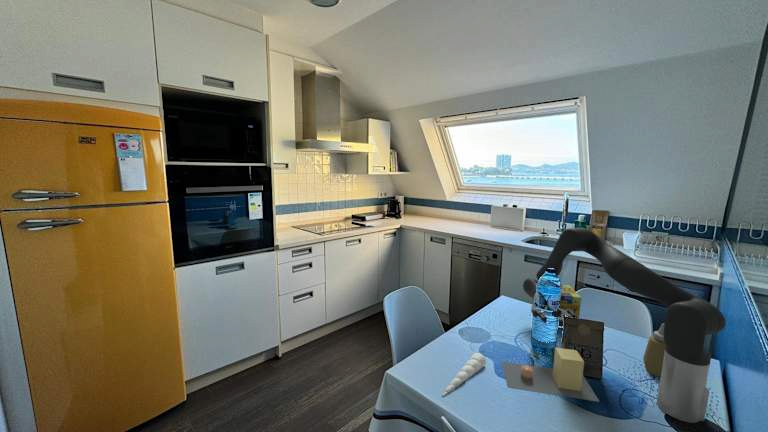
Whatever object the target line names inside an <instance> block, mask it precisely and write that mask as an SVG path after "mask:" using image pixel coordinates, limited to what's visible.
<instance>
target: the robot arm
mask: <svg viewBox="0 0 768 432" xmlns="http://www.w3.org/2000/svg"><path fill="white" fill-rule="evenodd" d="M552 248H553V249H552V251H551V253H550V254H549V256H548V257H547V260H546V261H545V262H544V264H543V265H542V266H541V267H540V268H539V270H538V271H537V272H536V274H535V275H536V279H535V278H532V277H528V278H527V279H525V280H524V281H523V282H522V283H523V285H522V287H523V291H524V292H525V294H527V295H528V296H529V297H530V298H531V299H533V301H534V304H533V303H532V304H531V307H530V308H531V309H530V311H531V314H532V317H534V318H537V317H538V319H540V320H541V322H543V323H545V324H547V321H548V320H547V317H546V316H545V314H544V311H542V310H541V311H539V310H537V309H535V306H536V304H535V293H536V284H537V282H538V281H539V278H540V277H541V276H542V275H543V274H544V273H545V271H546V269H547V268H554V269H555V274H556V276H557V277H559V275H560V274H561V272H562V270H563V264H564V260H565V259H566V257H567V256H569V255H570V254H571V253H573V252H584V253H587V254H588V255H590V256H592V257H593V258H595V259H596V260H598V261H599V263H600V264H601V266H602V267H603V270H604V271H605V273H606V274H607V275H608V277H610V278H612V279H613V280H614V281H615V282H617V283H618V284H619V285H621V286H622V287H624V288H625V289H627V290H629V291H631V292H634V293H636V294H638V295H641V296H644V297H646V298H648V299H651V300H654V301H656V302H658V303H661V305H663V306H665V307H667V310H666V312H665V315H664V316H665V317H664V323H663V324H664V335H663V337H664V342H665V345H666V347H665V353H664V360H663V366H662V372H661V377H660V379H659V380H660V381H659V387H658V393H657V399H656V404H657V405H656V406H657V407H658V408H659V409H660V410H662V412H664V413H665V414H667V415H669V416H670V417H672V418H675V419H676V420H678V421H682V422H686V423H692V424H694V423H695V424H696V423H699V422H705V418H706V413H707V407H708V401H709V395H710V389H709V388H707V383H708V376H709V369H710V366H711V360H712V354H711V352H710V351H709V350H708V349H707V348H705V339H706V336H709V335H713V334H717V333H719V332H721V331H723V330H724V329H725V327H726V324H727V321H726V318H725V315H724V314H723V313H722V311H721V310H720V309H719V308H718V307H716V306H715V305H713V304H712V303H710V302H709V301H708V300H705V299H703V298H701V297H699V296H697V295H695V294H694V293H691V292H690V291H687V290H685V289H684V288H681V287H679V286H678V285H677V284H674V283H672V282H671V281H670V280H668V279H666V278H665V277H663V276H662V275H660V274H658V273H656V272H655V271H653V270H651V269H650V268H649V267H647V266H646V265H644V264H642V263H641V262H639V261H638V260H636V259H635V258H633V257H631V256H630V255H627V254H625V253H624V252H622V251H621V250H619V249H618V248H616V247H615V246H612V245H611V244H610V243H608V242H607V241H605V240H604V239H603V238H601V237H600V236H599V235H597V234H596V233H595V232H594V231H592V230H591V229H588V228H585V227H568V228H565V229H564V230H563V231H562V232H561V234H560V236H558V239H557V241H556V243H555V245H554V247H552ZM552 315H553V316H554V317H557V318H559V319H561V320H564V317H565V315H566V316H568V317H573V318H575V317H576V315H575V314H574V312H573V311H572V310H571V309H569V308H567V310H563V309H562V308H560V307H558V308H557V311H553V312H552ZM560 315H561V316H560Z"/></svg>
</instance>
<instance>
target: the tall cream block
mask: <svg viewBox="0 0 768 432" xmlns="http://www.w3.org/2000/svg"><path fill="white" fill-rule="evenodd" d="M584 367H585V361H584V359H583V358H582V356H581V355H580V353H579V351H577V350H575V349H569V348H561V347H555V348H554V357H553V365H552V369H553V374H552V375H553V377H554V379H555V382H556V384H557V386H558V388H564V389H571V390H577V391H581V385H582V377H583V376H584V375H583V374H584Z"/></svg>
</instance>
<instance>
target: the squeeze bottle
mask: <svg viewBox="0 0 768 432" xmlns="http://www.w3.org/2000/svg"><path fill="white" fill-rule="evenodd" d="M664 324H665V323H661V325H660V327H659V329H658V330H654V331H653V334H652V336H649V338H648V341H647V344H646V347H645V351H644V354H643V358H642V360H643V364H644V368H645V370H646V372H647V373H649V374H650V375H652V376H655V377H658V378H661V372H662V366H663V360H664V353H665V347H666V345H665V342H664V337H663V335H664Z"/></svg>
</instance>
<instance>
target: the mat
mask: <svg viewBox="0 0 768 432" xmlns="http://www.w3.org/2000/svg"><path fill="white" fill-rule="evenodd" d="M523 365H524V364H523V363H514V362H508V361H501V366H502V369H503V374H504V378H505V381H506V386H507V388H509V389H515V390H521V391H528V392H534V393H539V394H540V393H541V394H546V395H553V396H554V395H555V396H559V397H564V398H565V397H566V398H573V399H579V400H586V401H590V402H591V401H593V402H598V403H600V402H601V401H600V399H599V398H598V397H597V395H596V394H595V392H594V390H593V389H592V387H591V385H590V384H589V382H588V381H587V379H586V377H585V376H584V375H583V377H582V385H581V391H577V390H571V389H564V388H558V386H557V384H556V382H555V379H554V377H553V375H552V374H553V368H551V367H543V366H536V365H528V364H526V365H527V366H530V367H531V368H533V378H532V380H525V379H523V378H522V377H521V367H522V366H523Z"/></svg>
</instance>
